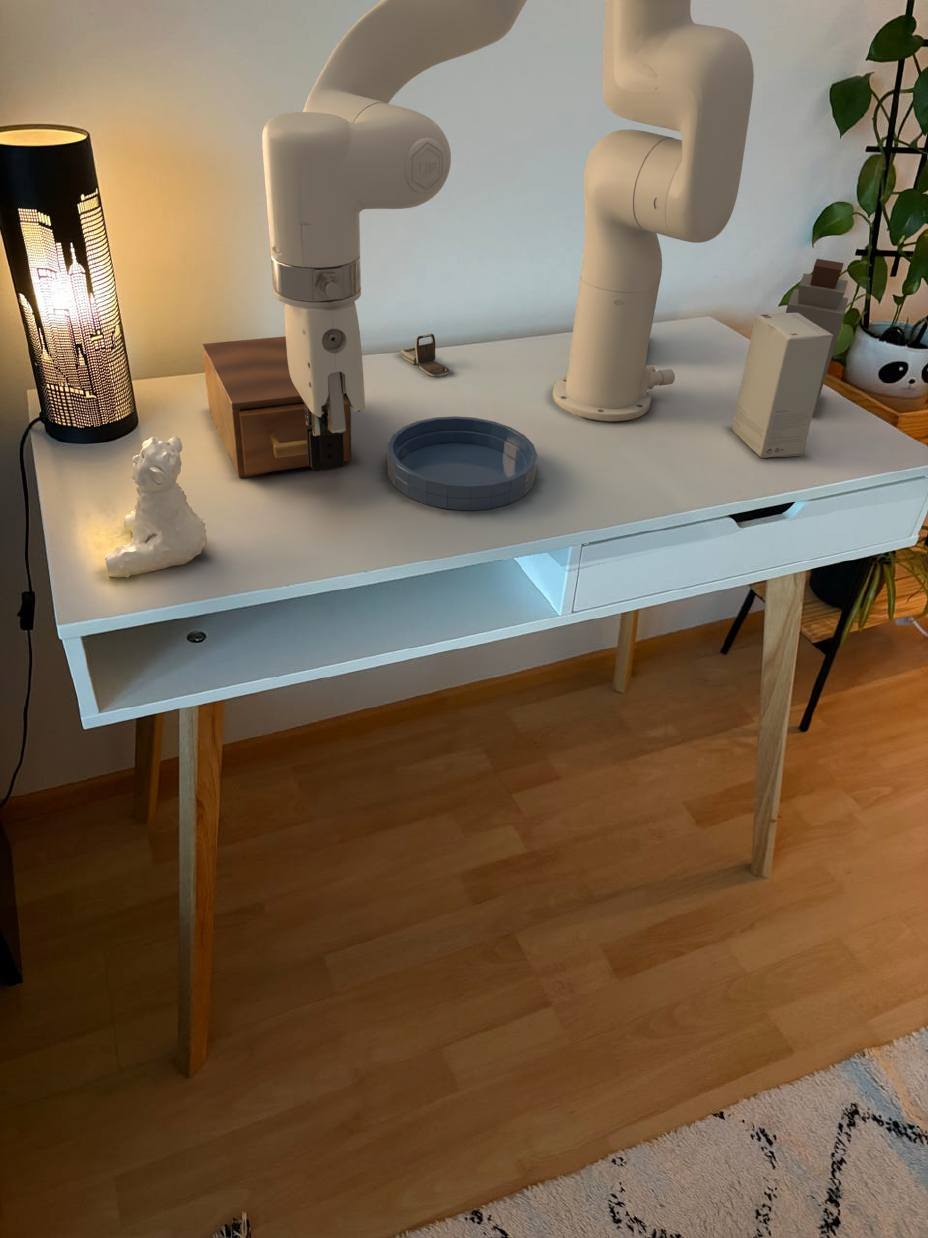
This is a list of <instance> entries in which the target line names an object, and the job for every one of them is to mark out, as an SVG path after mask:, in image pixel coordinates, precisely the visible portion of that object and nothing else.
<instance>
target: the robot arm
mask: <svg viewBox="0 0 928 1238" xmlns="http://www.w3.org/2000/svg"><path fill="white" fill-rule="evenodd" d="M527 1H528V0H380V1H379V2H378V3H376V4H375V5H374V6H373V7H371V9H369V10H368V11H367V12H366V13H364V14H363V15H362V16H361V17H360V18H358V20H357V21H356V22H355V23H354V24H353V25H352V26H351V27H350V28H349V29H348V30H347V31H346V32H345V34H343V36H342V37H341V38H340V40H339V41H338V42H337V44H336V45H335V47H334V49H333V50H332V52H331V53H330V55H329V57H328V58H327V60H326V62H325V64H324V65H323V67H322V69H321V71H320V73H319V74H318V77H317V79H316V80H315V83H314V85H313V87H312V88H311V90H310V92H309V94H308V95H307V99H306V102H305V104H304V106H303V109H302V111H294V112H293V111H291V112H286V113H281V114H278V115H275V116H273V117H271V118H270V119H268V120H267V122H266V123H265V124H264V127H263V130H262V132H261V133H262V134H261V150H262V160H263V161H262V163H263V173H264V184H265V185H264V186H265V187H264V188H265V198H266V211H267V212H266V213H267V225H268V237H269V251H270V260H271V261H270V263H271V275H272V276H271V277H272V291H273V296H274V297H275V299H276V300H278V301H279V302H281V303H283V306H284V329H285V336H286V348H287V359H288V367H289V373H290V377H291V380H292V382H293V384H294V386H295V387H296V389H297V391H298V392H299V394H300V396H301V397H302V399H303V401H304V410H305V419H306V423H307V425H308V426H309V425H312V426H311V427H306V439H307V455H308V463H309V464H310V466H309V467H310V468H311V470H312V472H322V471H329V470H335V469H341V468H343V467H345V461H344V445H343V432H344V431H346V424H345V414H344V397H345V398H346V400H347V401H348V402H349V404H350V405H351V409H352V410H353V411H354V412H358V413H361V412H362V411H364V409H365V407H366V397H365V379H364V363H363V351H362V340H361V331H360V323H359V316H358V311H357V306H356V301H357V300H359V299H360V298H361V296H362V277H361V276H362V275H361V227H360V213H361V212H362V211H364V210H404V209H411V208H414V207H415V208H416V207H419V206H421V205H423V204H425V203H427V202H429V201H430V200H431V199H433V198H434V197H435V196H436V195H437V194H438V193H439V192H440V191H441V189H442V188H443V187H444V186H445V183H446V182H447V179H448V177H449V174H450V170H451V163H452V155H451V154H452V153H451V148H450V144H449V140H448V138H447V136H446V134H445V132H444V130H443V129H442V128H441V127H440V126H439V125H438V124H437V123H436V122H435V121H434V120H432V119H431V118H430V117H429V116H427V115H425V114H423V113H421V112H419V111H416V110H413V109H410V108H407V107H402V106H399V105H394V104H390V102H391V101H392V99H393V98H394V97H395V96H396V94H397V93H398V92H400V90H401V89H402V88H403V87H404V86H405V85H407V83H409V82H410V81H411V80H412V79H414V78H415V77H417V76H419V75H420V74H421V73H422V72H424V71H426V70H428V69H430V68H432V67H434V66H437V65H439V64H442V63H444V62H447V61H450V60H453V59H457V58H459V57H463V56H466V55H469V54H472V53H474V52H477V51H479V50H481V49H483V48H486V47H489V46H491V45H493V44H495V43H497V42H500V40H501V39H503V38H504V37H506V35H508V33H509V32H510V31H511V29H512V28H513V26H514V24H515V23H516V21H517V19H518V16H519V15H520V13H521V12H522V10H523V8H524V6H525V4H526V2H527ZM691 1H692V0H604V15H603V16H604V17H603V39H602V40H603V41H602V42H603V43H602V63H601V64H602V65H601V89H602V98H603V101H604V103H605V105H606V107H607V108H608V110H609V111H610V112H611V113H613V114H614V115H616V116H617V117H620V118H623V119H625V120H628V121H631V122H636V123H639V124H644V125H649V126H653V127H658V128H662V129H668V130H671V131H673V132H674V131H676V132H679V133H680V135H681V139H678V138H675V137H673V136H668V135H663V134H658V133H654V132H650V131H646V130H641V129H640V130H638V129H620V130H615V131H611V132H609V133H607V134H606V135H604V136H602V137H601V138H600V139H599V140H598V141H596V142H595V145H593V147H592V149H591V150H590V152H589V154H588V156H587V159H586V162H585V166H584V171H583V181H582V183H583V185H582V186H583V187H582V189H583V202H584V203H583V207H584V237H583V239H584V240H583V250H582V259H581V267H580V273H579V274H580V275H579V280H578V281H579V282H578V290H577V297H576V305H575V312H574V320H573V327H572V328H573V329H572V336H571V344H570V349H569V350H570V352H569V357H568V358H569V359H568V367H567V372H566V373H567V374H566V376H565V377H563V378H560V379H559V380H558V381H557V382H555V384H554V386H553V388H552V399H553V401H554V403H555V404H556V405H557V406H558V407H560V408H561V409H562V410H564V411H566V412H568V413H570V414H573V415H575V416H578V417H580V418H584V419H588V420H593V421H602V422H625V421H630V420H634V419H637V418H640V417H642V416H643V415H646V413H648V411H649V410H650V407H651V402H652V401H651V400H652V398H651V395H650V393H649V392H648V391H649V390H652V389H653V388H654V386H655V387H656V386H668V385H673V384H674V382H675V379H676V375H675V372H674V370H673V369H661V370H660V369H659V370H657V371H656V367H655V365H654V364H648V365H646V363H647V362H646V360H647V355H648V351H649V350H648V349H649V344H650V338H651V333H652V329H653V323H654V316H655V311H656V305H657V300H658V295H659V289H660V285H661V279H662V272H663V254H662V250H661V244H660V240H659V236H658V235H661V236H664V237H667V238H672V239H675V240H679V241H683V242H687V243H693V244H695V243H696V244H700V243H706V242H709V241H711V240H713V239H715V238H716V237H718V235H720V234H721V233H722V231H723V230H724V229H725V227H726V226H727V224H728V223H729V221H730V219H731V216H732V214H733V211H734V208H735V207H736V206H735V205H736V202H737V198H738V193H739V188H740V183H741V177H742V170H743V163H744V157H745V156H744V155H745V150H746V142H747V135H748V128H749V121H750V113H751V108H752V100H753V91H754V81H755V80H754V78H755V77H754V76H755V75H754V74H755V73H754V64H753V63H754V62H753V59H752V54H751V51H750V48H749V46H748V44H747V42H746V41H745V40H744V39H743V37H742V36H740V34H738V33H736V32H734V31H733V30H730V29H727V28H724V27H719V26H713V25H706V24H700V23H695V22H694V21H693V18H692V15H691V3H692V2H691Z"/></svg>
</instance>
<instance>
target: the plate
mask: <svg viewBox="0 0 928 1238" xmlns="http://www.w3.org/2000/svg"><path fill="white" fill-rule="evenodd" d="M386 455H387V461H386V463H387V465H386V467H387V469H386V470H387V478H388V479H389V481H390V483H391V484H392V485H393V487H394V488H395V489H396V490H398V491H399V492H401V493H402V494H403V495H404V496H406V497H407V498H409V499H411V500H413V501H417V502H418V503H422V504H424V505H426V506H432V507H436V508H440V509H444V510H445V509H446V510H455V511H456V510H457V511H481V510H490V509H496V508H500V507H503V506H507V505H510V504H513V503H514V502H516V501H518V500H520V499H522V498H524V497H525V496H526V494H527V493H529V492H530V490H531V489H532V488H533V486H534V481H535V478H536V468H537V461H538V453H537V450H536V447H535V445H534V443H533V442H532V441H531V440H530V439H529V438H528V437H527V436H526V435H525V434H523V433H521V432H519V431H518V430H516V429H514V428H513V427H511V426H508V425H505V424H503V423H500V422H497V421H493V420H489V419H483V418H477V417H471V416H435V417H432V418H426V419H421V420H417V421H414V422H412V423H409V424H407V425H404V426H402V427H400V429H399V430H397V431H396V432H395V433H394V434H392V435H391V437H390V439H389V440H388V443H387V454H386Z"/></svg>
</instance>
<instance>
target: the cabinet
mask: <svg viewBox="0 0 928 1238" xmlns="http://www.w3.org/2000/svg"><path fill="white" fill-rule="evenodd" d="M201 348H202V359H203V365H204V375H205V384H206V385H205V386H206V393H207V402H208V403H207V404H208V411H209V415H210V417H211V419H212V422H213V423H214V426H215V428H216V431H217V433H218V435H219V438H220V439H221V441H222V444H223V446H224V448H225V451H226V453H227V455H228V458H229V459H230V461H231V463H232V467H233V468H234V470H235V472H236V475H237V477H238V478H246V477H247V478H248V477H255V476H261V475H268V474H271V472H272V471H270V472H263V473H256V474H249V475H246V473H245V471H244V467H243V456H242V445H241V434H240V423H239V413H238V412H239V411H240V409H249V408H257V407H266V406H275V405H283V404H292V403H301V402H304V401H303V399H302V397H301V396H300V394H299V392H298V391H297V389H296V387H295V386H294V384H293V382H292V380H291V377H290V373H289V367H288V359H287V348H286V335H285V336H284V335H283V336H273V337H263V338H253V339H241V340H240V339H239V340H229V341H218V342H207V343H202V344H201ZM344 399H346V398H345V397H344ZM346 401H347V400H346ZM347 402H348V401H347ZM351 409H352V407H351V405H350V404H349V402H348V412H349V461H348V462H350V461H352V411H351ZM306 467H308V466H306ZM306 467H305V468H306ZM300 468H301V467H299V469H300ZM293 469H294V468H292V470H293ZM278 471H279V470H277V472H278Z"/></svg>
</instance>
